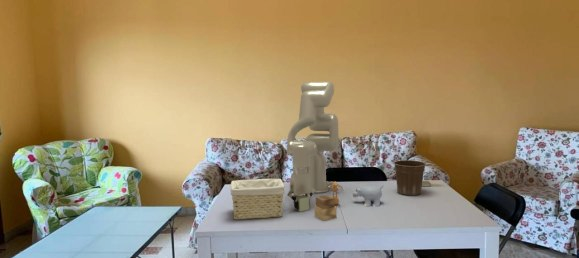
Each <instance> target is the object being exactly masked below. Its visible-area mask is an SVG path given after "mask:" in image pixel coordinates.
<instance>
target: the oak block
mask: <svg viewBox="0 0 579 258" xmlns="http://www.w3.org/2000/svg"><path fill="white" fill-rule="evenodd" d="M337 213H338V212H337V206H335V207H333V208H328V209H321V208H319V207H317V206H316V204H315V205H314V217H315V218H318V219H319V220H321V221H327V220H332V219H336V218H337Z"/></svg>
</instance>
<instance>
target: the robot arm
mask: <svg viewBox="0 0 579 258" xmlns="http://www.w3.org/2000/svg"><path fill="white" fill-rule="evenodd" d="M300 90H301V95H300V101H299V102H300V104H299V113H298V119H297V121H296V122H295V123H294V124H293V125H292V126H291V128H290V130H289V132H288V135H287V142H286V151H287V154H288V156H290V157H291V156H292V173H291V174H290V181H289V191H288V193H287V194H286V196H287V197H289V198H290V199H292V201H293V207H294V209H295V210H296V209H297V211H298V210H299V202H298V197H299V195H305V196H307V197H309V206H310V205H311V202H310V201H311V199H312V196H313V195H314V194H323V193H327V192H328V191H329V190H330V188H329V189H328V190H327V188H328V187H329V186H331V185H333V184H334V181H328V180H327V175H326V173H327V168H326V167H327V165H326V161H327V160H326V157H325V154H323V152H336V151H338V149H339V118H338V116H337V115H336V114H335V113H325V108H327V107H328V106H330V105H331V101H332V99H333V96H334V94H335V93H334V92H335V85H334V83H333V82H331V81H307V82H303V83H302V84H301V87H300ZM306 128H309V130H311V131H314V132H315V133H310V134H308V135H307V136H306V138H305V139H306V140H295V139H296V136H297V134H298V133H299V132H300V131H302V130H304V129H306ZM316 132H328V133H316ZM292 194H293V195H292Z"/></svg>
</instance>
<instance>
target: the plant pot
mask: <svg viewBox="0 0 579 258" xmlns="http://www.w3.org/2000/svg"><path fill="white" fill-rule="evenodd" d="M393 165H394V171H395V178H396V191H397V194H399V195H400V194H401V195H406V196H411V197H413V196H420V195H421V194H422V187H423V179H424V173H425V169H426V166H427V163H426V162H424V161H419V160H409V159H407V160H405V159H402V160H395V161H394V162H393Z"/></svg>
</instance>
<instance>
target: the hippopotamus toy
mask: <svg viewBox="0 0 579 258" xmlns="http://www.w3.org/2000/svg"><path fill="white" fill-rule="evenodd" d="M384 186H385V184H384V183H382V184H381V185H380V187H379V186H376V185H365V186H362V187H360V186H359V187H357V188H356V189H355V190H353V192H352V196H353V198H358V197H361V198H363V202H364V203H363V205H364V207H370V206H372V207H380V205H381V203H380V202H381V201H380V200H381V198H382V196H383V193H382V192H383V191H382V189H383V187H384ZM372 202H373V203H372Z"/></svg>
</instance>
